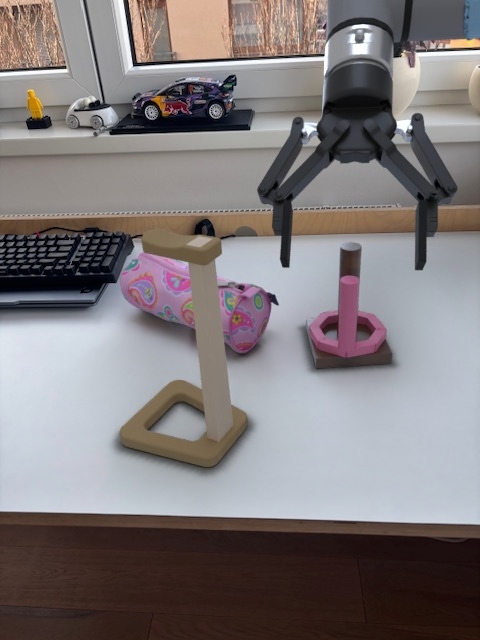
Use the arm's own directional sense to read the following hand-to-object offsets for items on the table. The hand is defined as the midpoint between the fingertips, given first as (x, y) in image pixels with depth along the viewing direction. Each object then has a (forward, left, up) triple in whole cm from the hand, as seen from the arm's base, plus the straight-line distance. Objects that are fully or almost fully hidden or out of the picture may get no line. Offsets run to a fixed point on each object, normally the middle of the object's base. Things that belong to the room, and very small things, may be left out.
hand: (351, 265), depth 55 cm
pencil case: (+20, -9, -14) cm, 26 cm away
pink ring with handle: (0, -6, -13) cm, 14 cm away
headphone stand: (+16, +11, -14) cm, 24 cm away
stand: (0, -6, -14) cm, 16 cm away
